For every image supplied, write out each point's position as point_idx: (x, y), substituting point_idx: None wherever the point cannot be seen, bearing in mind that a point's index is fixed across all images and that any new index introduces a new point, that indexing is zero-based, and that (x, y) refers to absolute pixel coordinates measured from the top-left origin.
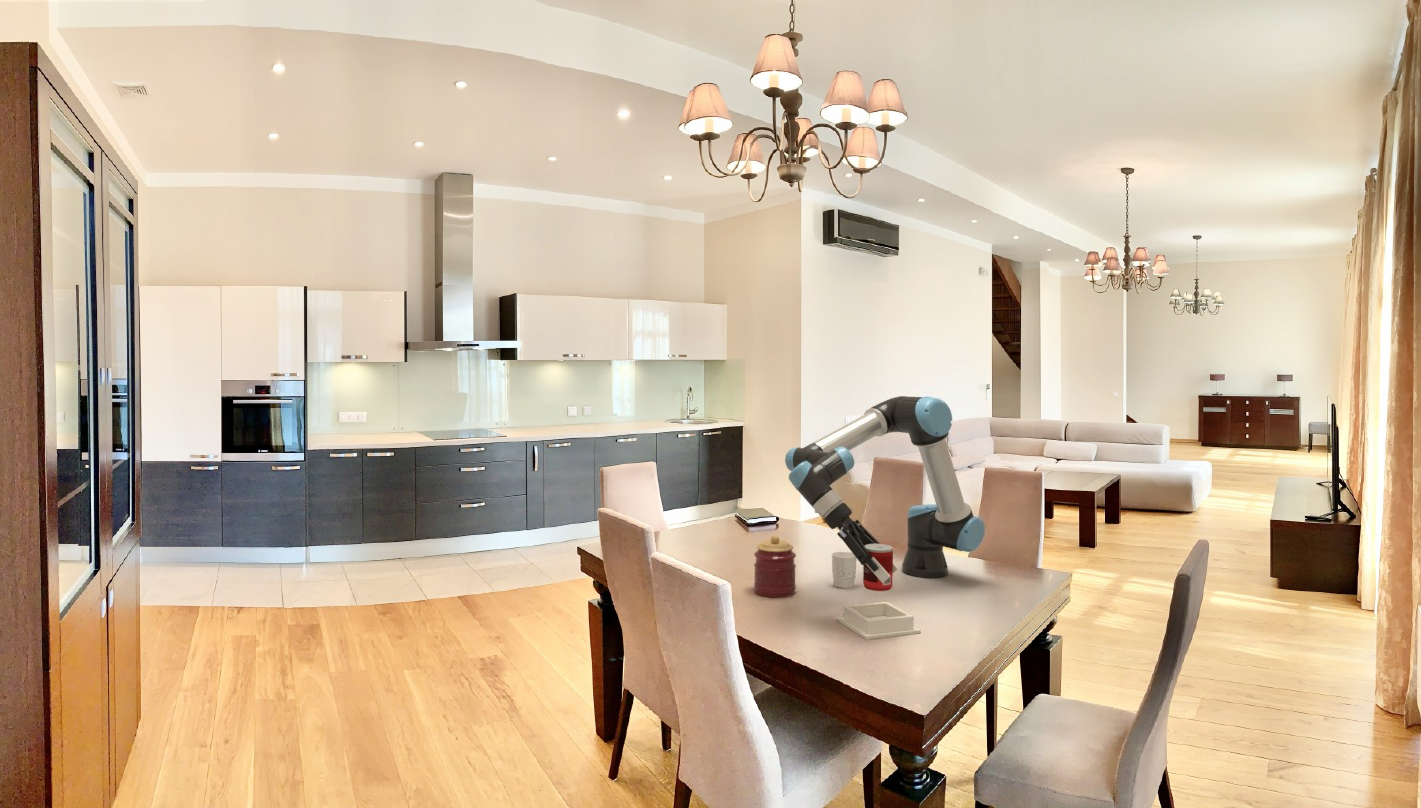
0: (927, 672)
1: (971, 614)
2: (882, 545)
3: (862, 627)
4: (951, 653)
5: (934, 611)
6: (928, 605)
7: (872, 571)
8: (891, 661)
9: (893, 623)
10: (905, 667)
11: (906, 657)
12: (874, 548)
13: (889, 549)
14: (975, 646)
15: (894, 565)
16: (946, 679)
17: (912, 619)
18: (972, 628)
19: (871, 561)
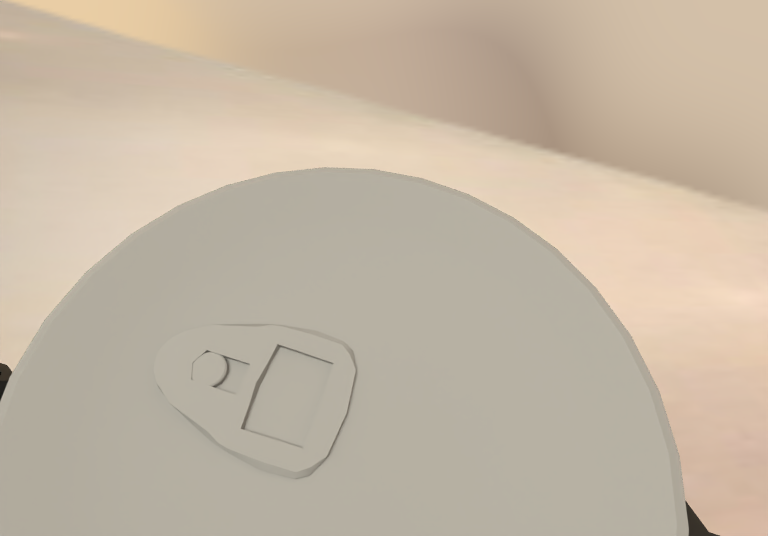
0: (746, 272)
1: (129, 144)
2: (108, 348)
3: None
4: (545, 209)
5: (97, 253)
6: (7, 275)
7: None
8: (735, 386)
9: None
10: (754, 336)
11: (663, 337)
12: (404, 507)
13: (480, 205)
14: (452, 151)
15: None
16: (759, 225)
17: None
18: (284, 149)
19: (701, 522)
